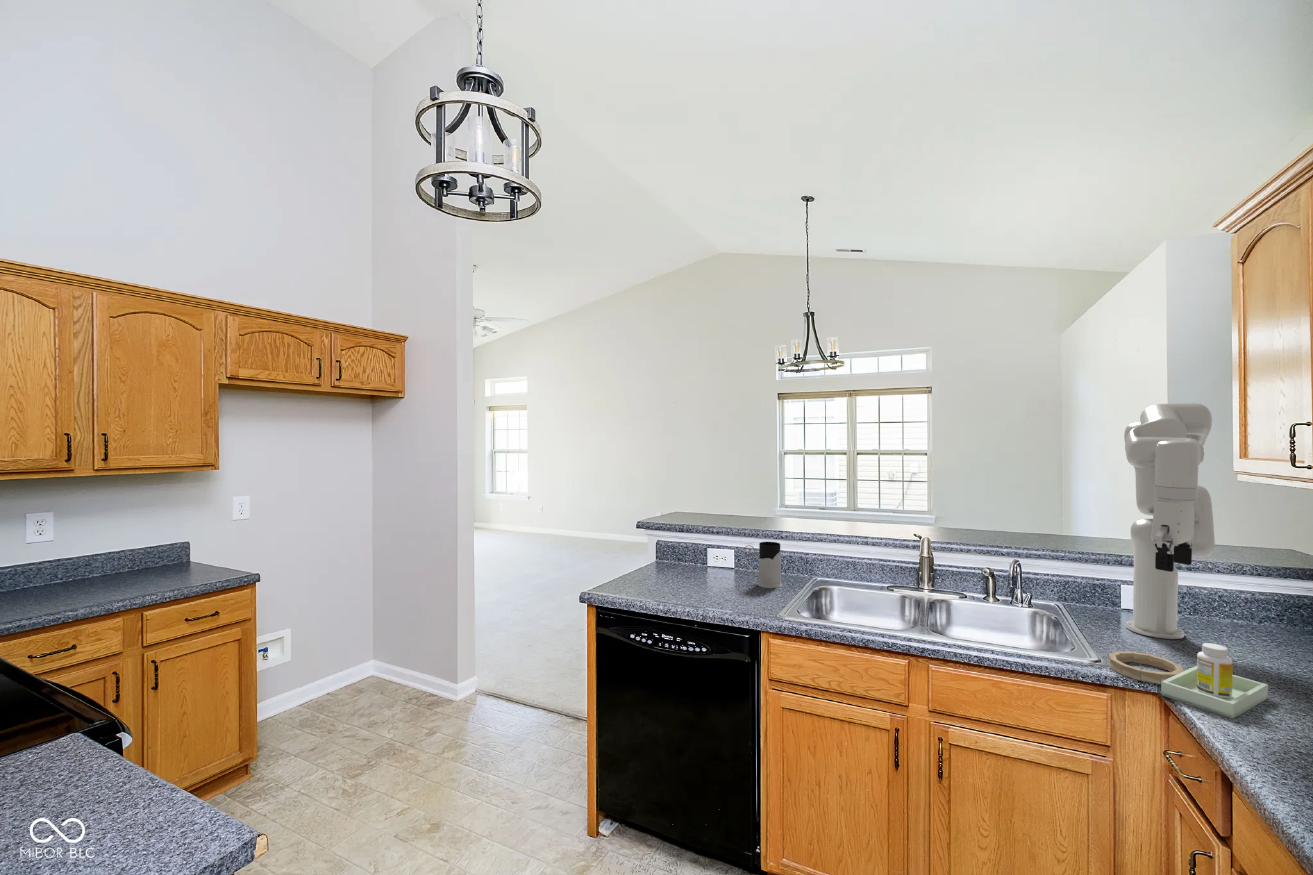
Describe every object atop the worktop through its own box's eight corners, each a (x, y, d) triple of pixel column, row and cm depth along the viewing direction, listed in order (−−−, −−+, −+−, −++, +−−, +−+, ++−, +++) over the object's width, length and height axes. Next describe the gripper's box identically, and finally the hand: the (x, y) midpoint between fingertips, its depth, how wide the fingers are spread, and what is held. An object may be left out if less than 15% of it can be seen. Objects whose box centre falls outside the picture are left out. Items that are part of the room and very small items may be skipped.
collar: (1125, 656, 149) (1126, 647, 149) (1193, 676, 137) (1194, 666, 137) (1098, 666, 142) (1098, 657, 142) (1166, 688, 131) (1167, 679, 131)
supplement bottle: (1231, 693, 127) (1232, 646, 127) (1232, 702, 123) (1233, 653, 123) (1196, 685, 131) (1197, 639, 131) (1196, 693, 127) (1197, 646, 127)
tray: (1197, 677, 136) (1198, 664, 136) (1267, 698, 126) (1268, 684, 126) (1161, 695, 128) (1161, 681, 128) (1232, 718, 118) (1233, 703, 117)
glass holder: (778, 589, 209) (778, 547, 208) (739, 584, 215) (739, 543, 215) (784, 583, 217) (784, 542, 216) (747, 578, 223) (747, 539, 222)
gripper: (1171, 488, 144) (1169, 557, 145) (1138, 495, 136) (1136, 569, 137) (1211, 492, 138) (1209, 564, 139) (1180, 499, 129) (1177, 577, 130)
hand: (1173, 566), depth 138 cm, fingers open, 9 cm apart
